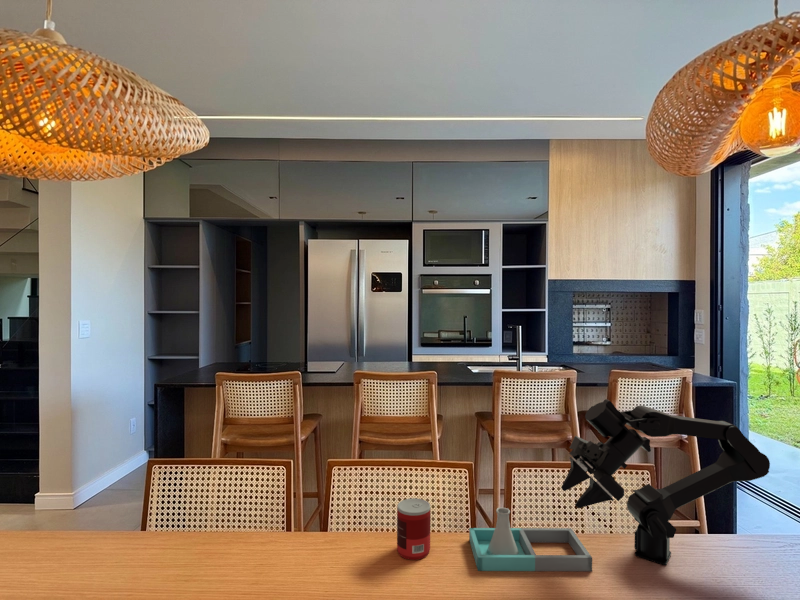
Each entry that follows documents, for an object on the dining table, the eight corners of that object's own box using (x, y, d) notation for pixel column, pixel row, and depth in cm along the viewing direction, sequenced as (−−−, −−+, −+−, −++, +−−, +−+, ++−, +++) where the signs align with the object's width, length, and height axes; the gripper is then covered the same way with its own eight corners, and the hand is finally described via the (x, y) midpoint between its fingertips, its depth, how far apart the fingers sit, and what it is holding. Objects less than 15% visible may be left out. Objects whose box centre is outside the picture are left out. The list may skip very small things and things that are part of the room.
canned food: (436, 548, 115) (436, 502, 114) (419, 564, 108) (419, 515, 108) (408, 539, 119) (408, 495, 118) (390, 554, 112) (390, 507, 112)
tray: (571, 540, 118) (571, 528, 118) (592, 571, 105) (592, 557, 105) (469, 540, 118) (469, 527, 118) (477, 570, 105) (478, 557, 105)
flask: (516, 545, 115) (517, 504, 115) (520, 562, 108) (521, 518, 108) (485, 543, 116) (486, 502, 116) (488, 560, 109) (488, 516, 109)
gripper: (577, 415, 121) (533, 459, 121) (610, 438, 102) (557, 490, 102) (609, 446, 121) (564, 490, 121) (647, 475, 102) (594, 526, 102)
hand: (569, 497), depth 112 cm, fingers open, 9 cm apart
